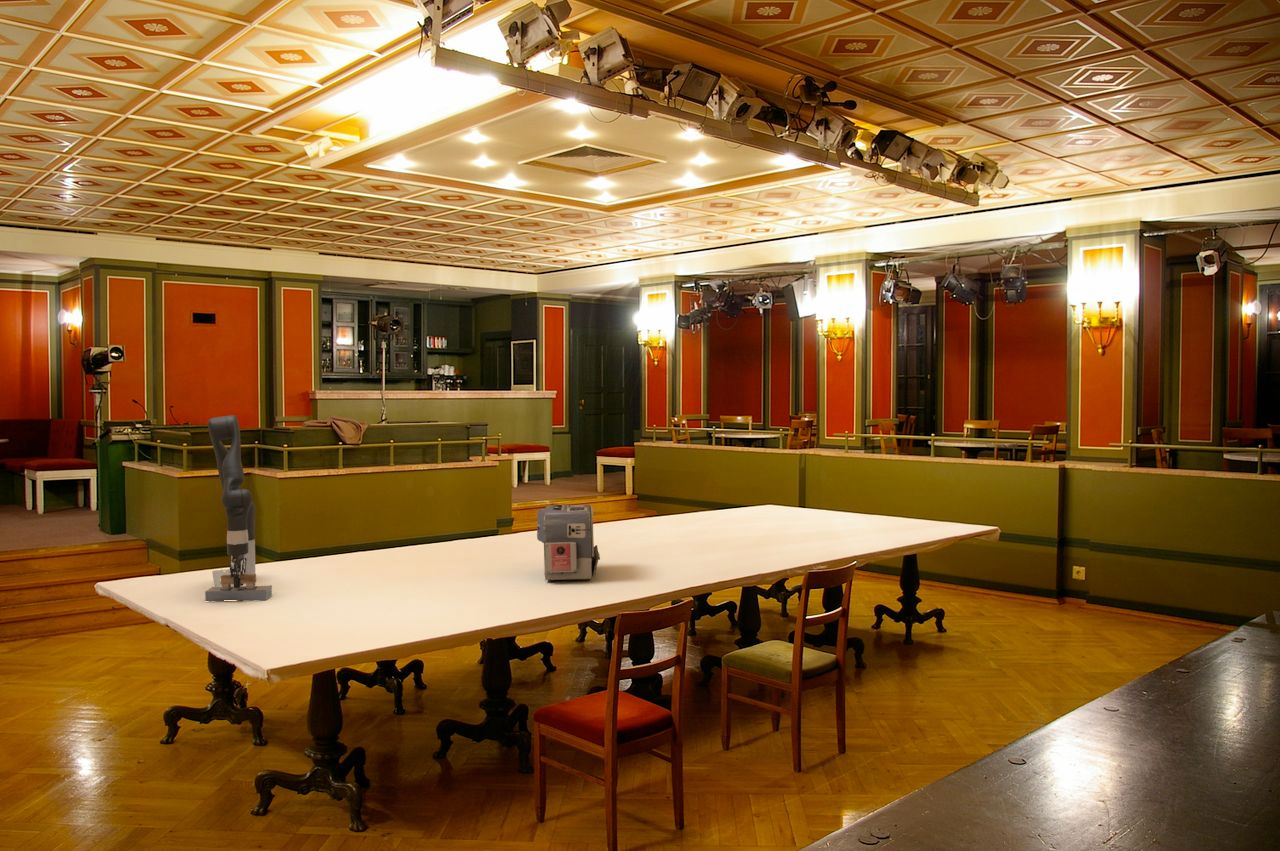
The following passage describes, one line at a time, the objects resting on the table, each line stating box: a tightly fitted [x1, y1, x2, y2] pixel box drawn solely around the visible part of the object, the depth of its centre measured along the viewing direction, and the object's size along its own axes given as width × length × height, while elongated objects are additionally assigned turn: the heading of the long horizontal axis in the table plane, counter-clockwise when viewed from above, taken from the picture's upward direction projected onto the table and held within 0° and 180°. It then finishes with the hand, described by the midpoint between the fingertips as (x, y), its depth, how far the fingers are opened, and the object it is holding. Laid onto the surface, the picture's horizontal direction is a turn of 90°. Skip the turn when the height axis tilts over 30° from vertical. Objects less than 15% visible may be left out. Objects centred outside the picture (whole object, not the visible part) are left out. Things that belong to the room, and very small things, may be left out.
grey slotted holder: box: [204, 585, 273, 601], centre depth 362 cm, size 8×22×4 cm, turn 96°
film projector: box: [536, 504, 601, 583], centre depth 403 cm, size 39×29×30 cm
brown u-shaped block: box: [221, 573, 257, 590], centre depth 361 cm, size 3×12×8 cm, turn 96°
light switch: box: [212, 568, 236, 587], centre depth 376 cm, size 8×6×14 cm
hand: (238, 586), depth 361 cm, fingers closed on brown u-shaped block, 3 cm apart
